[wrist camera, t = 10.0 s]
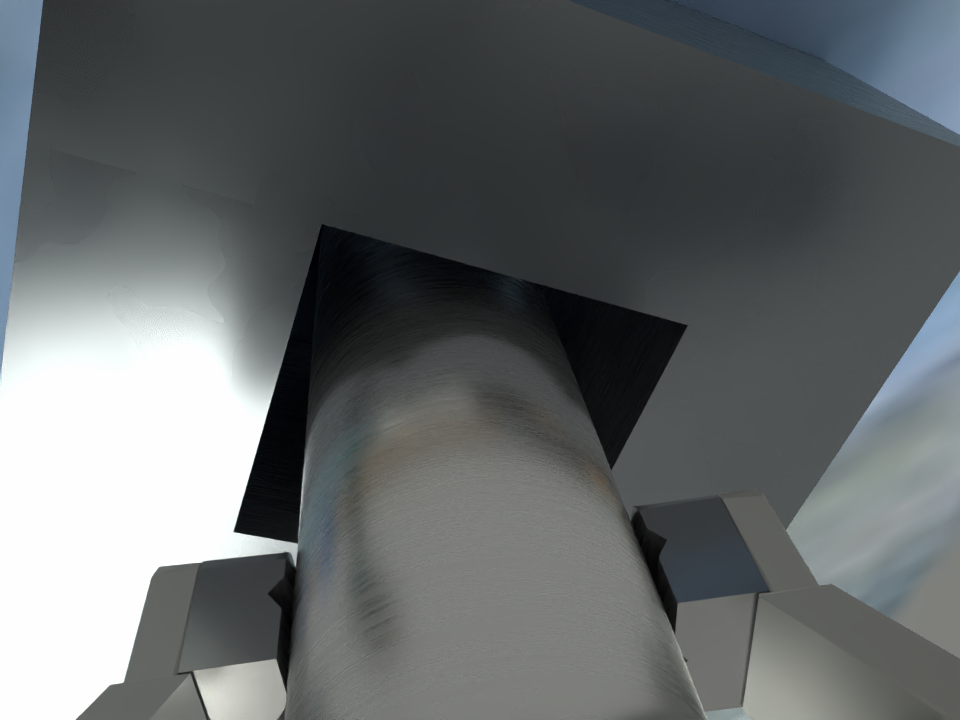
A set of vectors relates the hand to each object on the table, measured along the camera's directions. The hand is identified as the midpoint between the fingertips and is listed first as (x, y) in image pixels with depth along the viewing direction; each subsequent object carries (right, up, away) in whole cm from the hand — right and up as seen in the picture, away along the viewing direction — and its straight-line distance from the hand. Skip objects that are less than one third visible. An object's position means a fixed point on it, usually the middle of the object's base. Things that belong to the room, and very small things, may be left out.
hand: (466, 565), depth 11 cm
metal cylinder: (-1, +5, +7) cm, 9 cm away
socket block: (-2, +1, +9) cm, 10 cm away
